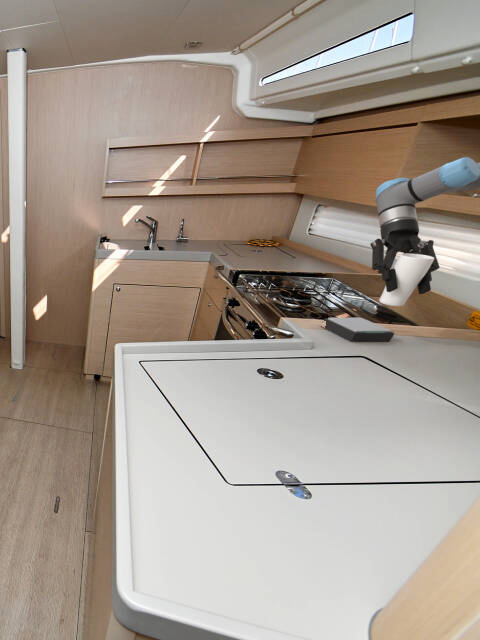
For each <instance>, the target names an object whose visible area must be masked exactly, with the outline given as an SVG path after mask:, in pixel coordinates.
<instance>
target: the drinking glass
mask: <svg viewBox="0 0 480 640" xmlns="http://www.w3.org/2000/svg"><path fill="white" fill-rule="evenodd" d="M434 259H435V258H434V257H431V256H427V255H420V254H404V253H401V254H399V256H398V258H397V259H396V261H395V263H394V264H393V266H392V269H395V271H396V278H397V285H398V288H397V289H395V290H393V291H391V292H387V290H386V285H385V286H384V289H383V291H382V294H381V295H380V296H379V299H378V302H380V303H381V304H382V305H385V306H391V307H403V306H405V304H406V302H407V300H408V299H409V298H410V296H411V295H412V293H413V292H414V291H415V289H416V288H417V287H418V284H419V282H420V281H421V280H422V278H423V277H424V276H425V274H426V273H427V271H428V270H429V268H430V266H431V265H432V263H433V261H434Z"/></svg>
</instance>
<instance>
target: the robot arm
mask: <svg viewBox="0 0 480 640" xmlns="http://www.w3.org/2000/svg"><path fill="white" fill-rule="evenodd" d="M479 189H480V162H476V161H475V160H474V159H472V158H471V157H467V156H465V157H461V158H459V159H456V160H454V161H451V162H447V163H445V164H444V165H442V166H438V167H437V168H435V169H432V170H429V171H428V172H426V173H424V174H420V175H419V176H417V177H414V178H412V179H409V178H407V177H397V178H395V179H390V180H387V181H385V182H383V183H381V184H380V185H379V186H378V187H377V188H376V190H375V203H376V209H377V214H378V222H379V223H378V224H379V228H380V230H379V231H380V238H376V239H375V240H373V241H372V242H371V243H370V244H369V245H370V247H371V249H372V250H371V251H372V256H371V269H372V270H373V271H377V273H378V274H381V280H382V281H383V282H385V286H386V290H387V292H391V291H393V290H395V289H397V288H398V285H397V278H396V271H395V269H393V266H394V261H395V259H396V257H397V254H398V253H401V254H420V255H427V256H431V257H434V258H435V259H434V261H433V263H432V265H431V266H430V268H429V270H428V271H427V273H426V274H425V276H424V277H423V278H422V280H421V281H420V282H419V284H418V285H417V292H418V295H423V294H426V293H428V292H430V291H431V290H432V288H431V282H432V281H433V278H432V273H433V272H435V271H437V270H439V269H440V264H439V261H438V258H437V254H436V252H435V249H434V243H435V242H434V240H433V239H429V240H422V239H421V238H420V237H419V233H420V226H419V221H418V214H417V209H416V204H418V203H421V202H424V201H427V200H429V199H431V198H434V197H437V196H440V195H442V194H445V193H453V192H465V191H470V190H479ZM385 247H386V250H385Z"/></svg>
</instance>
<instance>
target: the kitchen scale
mask: <svg viewBox="0 0 480 640" xmlns="http://www.w3.org/2000/svg"><path fill="white" fill-rule="evenodd" d="M323 320H324V321H326V326H325V330H327V331H328V332H330V333H332V334H334V335H336V336H339V337H340V338H342V339H344V340H346V341H348V342H350V343H364V342H365V343H390V342H391V340H392V338H393V337H394V336H395V332H393V331H392V330H391V329H389V328H386V327H385V326H382V325H379V324H377V323H375V322H372V321H370V320H368V319H366V318H363V317H327V318H323Z"/></svg>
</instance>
